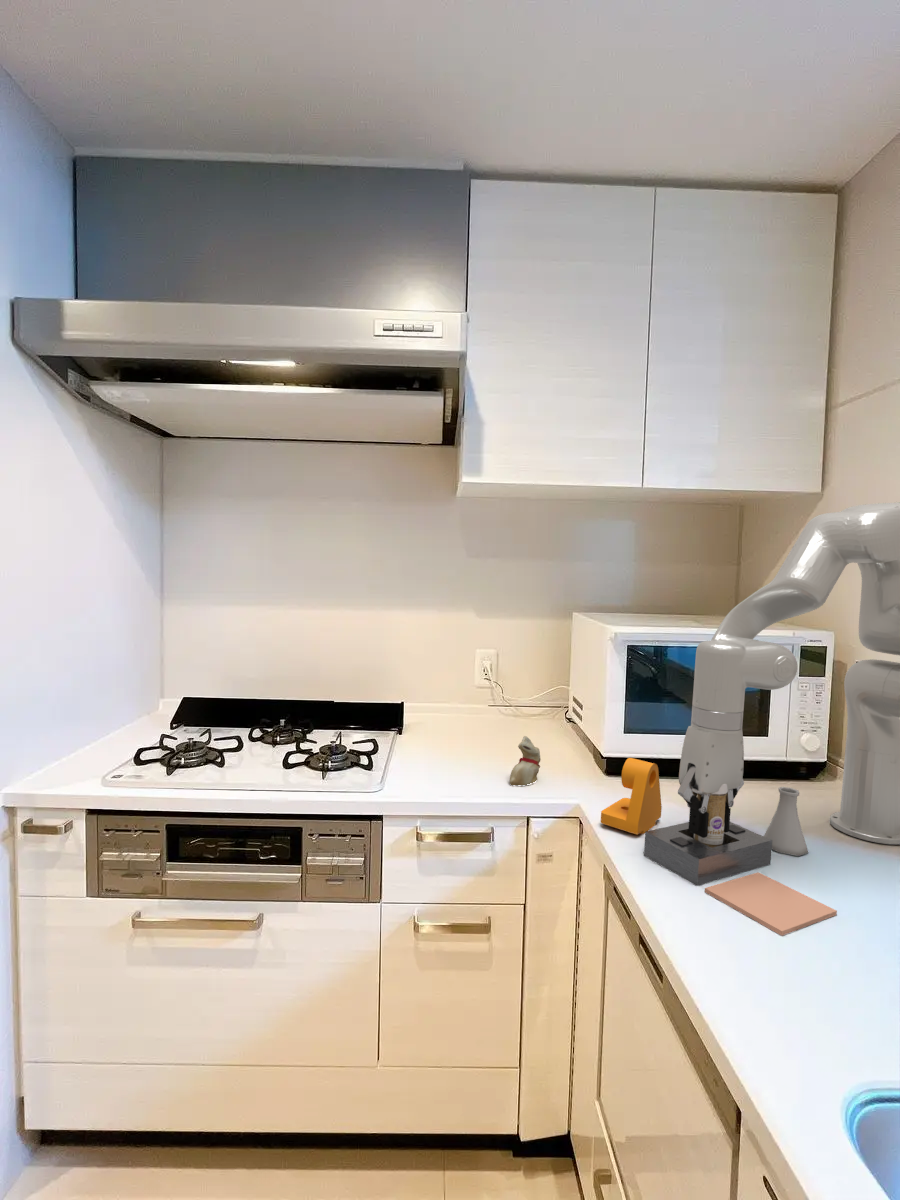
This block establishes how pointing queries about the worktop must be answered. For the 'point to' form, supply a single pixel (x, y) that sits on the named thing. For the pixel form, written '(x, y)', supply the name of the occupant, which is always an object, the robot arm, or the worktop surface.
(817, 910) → the coaster
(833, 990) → the worktop surface
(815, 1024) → the worktop surface
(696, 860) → the socket bar
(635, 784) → the bracket
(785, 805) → the flask
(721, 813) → the sprinkles bottle
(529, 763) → the chocolate bunny
